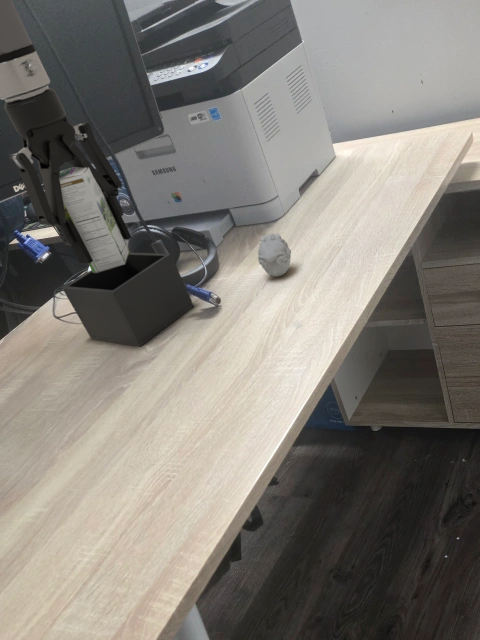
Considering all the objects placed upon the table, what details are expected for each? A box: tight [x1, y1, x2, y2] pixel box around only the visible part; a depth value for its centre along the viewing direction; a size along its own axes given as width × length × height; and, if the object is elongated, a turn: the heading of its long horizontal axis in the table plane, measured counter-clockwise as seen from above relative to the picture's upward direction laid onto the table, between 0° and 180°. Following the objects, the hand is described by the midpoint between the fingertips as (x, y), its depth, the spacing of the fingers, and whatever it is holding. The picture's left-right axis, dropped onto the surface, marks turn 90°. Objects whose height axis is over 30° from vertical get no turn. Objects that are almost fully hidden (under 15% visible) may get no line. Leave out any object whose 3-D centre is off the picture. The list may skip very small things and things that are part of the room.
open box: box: [62, 252, 195, 348], centre depth 113 cm, size 14×14×10 cm
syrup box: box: [59, 166, 131, 273], centre depth 104 cm, size 6×6×14 cm
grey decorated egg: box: [257, 233, 292, 277], centre depth 117 cm, size 6×7×7 cm
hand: (105, 249), depth 108 cm, fingers closed on syrup box, 8 cm apart
